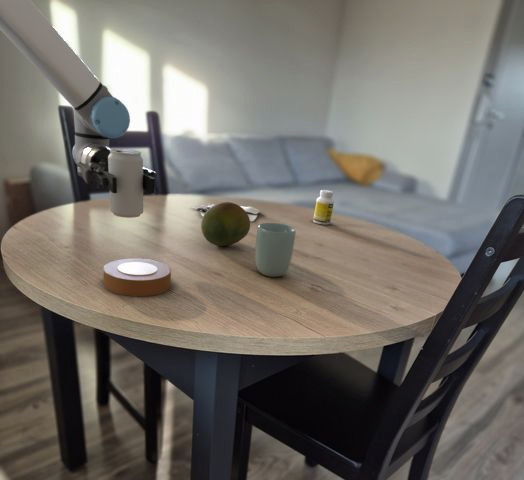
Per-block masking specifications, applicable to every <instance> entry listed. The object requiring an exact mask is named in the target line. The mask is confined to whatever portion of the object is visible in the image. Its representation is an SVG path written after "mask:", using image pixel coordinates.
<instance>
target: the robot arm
mask: <svg viewBox="0 0 524 480" xmlns="http://www.w3.org/2000/svg"><path fill="white" fill-rule="evenodd" d="M0 32H1V33H3V34H4V36H5V37H6V38H7V39H8V40H9V41H10V42H11V43H12V44H13V46H15V47H16V48H17V50H19V52H20V53H21V54H22V55H23V56H24V57H25V59H27V60H28V61H29V62H30V63H31V65H32V66H34V67H35V69H37V70H38V72H39V73H40V74H41V75H42V76H43V77H44V78H45V79H46V80H47V81H48V82H49V84H50V85H52V87H53V88H54V89H55V90H56V91H57V92H58V93H59V94H60V95H61V96H62V97H63V99H64V100H66V101H67V102H68V103H69V105H70V106H71V107H72V108H73V119H74V145H73V147H72V158H73V161H74V163H75V164H76V168H77V176H78V177H81V178H82V179H83V181H84V182H85V183H86V184H87V185H89V186H90V185H94V183H96V189H97V190H104V189H105V188H106V189H107V190H108V191H109V190H110V191H111V192H112V193H117V179H116V177H115V176H113V175H112V174H110V173H109V168H108V156H109V154H110V153H111V152H110V150H111V149H112V148H110V139H117V138H120V137H123V136H124V135H125V134H126V132H128V129H129V128H130V124H131V116H130V111H129V110H128V108H127V106H126V105H125V104H124V103H123V101H121V100H120V99H118V98H117V97H114V96H113V95H112V93H111V92H110V91H109V88H108V86H106V85H104V84H103V83H102V82H101V81H100V80H99V78H98V77H97V76H96V75H95V74H94V72H93V71H92V70H91V68H89V66H88V65H87V64H86V63H85V62H84V61H83V59H82V58H81V57H80V56H79V55H78V54H77V52H75V50H74V48H72V47H71V45H69V42H67V40H66V39H64V36H62V35H61V34H60V32H59V31H58V30H57V29H56V28H55V27H54V25H53V24H52V23H51V22H50V21H49V20H48V18H47V17H46V16H45V15H44V14H43V12H42V11H41V10H40V9H39V8H38V7H37V5H35V3H34V2H33V1H32V0H0ZM155 186H157V171H154V170H151V169H149V168H147V167H144V166H143V190H145V191H146V192H148V193H149V194H155Z"/></svg>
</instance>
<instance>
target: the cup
mask: <svg viewBox="0 0 524 480" xmlns="http://www.w3.org/2000/svg"><path fill="white" fill-rule="evenodd" d="M295 240H296V229H295V228H294V227H293V226H290V225H288V224H285V223H277V222H263V223H259V224H258V225H257V230H256V239H255V252H254V258H255V259H254V261H255V266H256V269H257V271H258V272H259V274H262V275H263V276H265V277H270V278H278V277H282V276H284V275H286V273H287V272H288V270H289V269H290V266H291V263H292V260H293V254H294V247H295Z"/></svg>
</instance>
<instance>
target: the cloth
mask: <svg viewBox="0 0 524 480" xmlns="http://www.w3.org/2000/svg"><path fill="white" fill-rule="evenodd" d="M216 204H217V203H216ZM216 204H201V205H194V206H193V209H194V210H195V211H200V215H201V216H202V217H203V216H204V214H205V213H206V211H207V210H208V209H210V208H211V207H213V206H214V205H216ZM239 206H240V207H242V208H243V209H244V210H245V212H246V213H247V214H248V216H249V219H250V222H254V221H255V220H256V219H257V218H258V214H260V213H261V210H260V209H258V208H255V207H253V206H243V205H239Z"/></svg>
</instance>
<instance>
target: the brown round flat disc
mask: <svg viewBox="0 0 524 480" xmlns="http://www.w3.org/2000/svg"><path fill="white" fill-rule="evenodd" d="M102 270H103V285H104V287H105V289H107V290H108V291H110V292H112V293H115V294H118V295H122V296H130V297H149V296H150V297H151V296H155V295H159V294H163V293H165V292H167V291H168V290H169V289H170V288H171V286H172V285H171V283H172V282H171V281H172V268H170V266H169V265H167V264H166V263H163V262H161V261H157V260H154V259H147V258H121V259H116V260H112V261H109V262H107V263H106V264H105V265H104V266H103V269H102Z"/></svg>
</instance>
